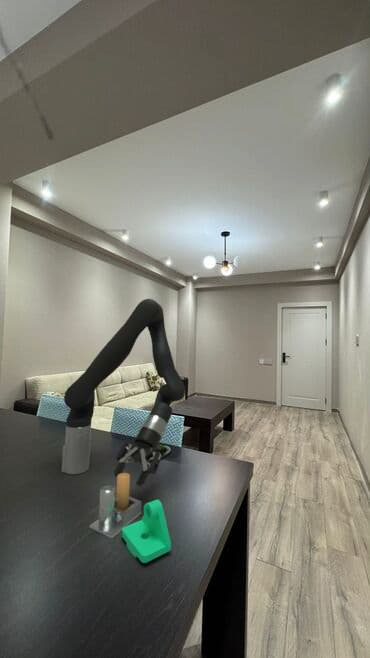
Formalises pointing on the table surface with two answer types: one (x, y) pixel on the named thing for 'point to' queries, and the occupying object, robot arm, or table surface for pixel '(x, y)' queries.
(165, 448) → the salad plate
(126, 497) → the tan rounded cylinder
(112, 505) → the clear post on plate
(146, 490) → the table surface
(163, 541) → the camera mount
